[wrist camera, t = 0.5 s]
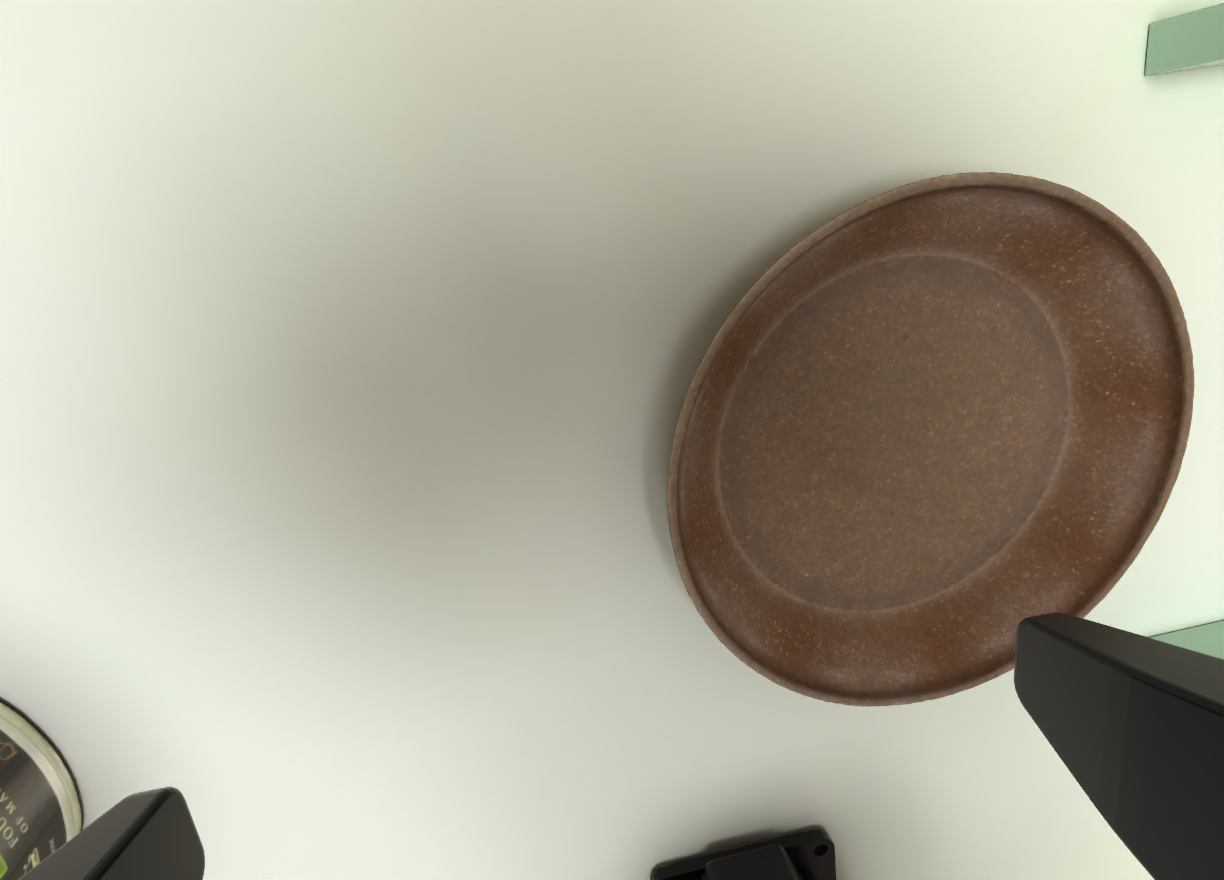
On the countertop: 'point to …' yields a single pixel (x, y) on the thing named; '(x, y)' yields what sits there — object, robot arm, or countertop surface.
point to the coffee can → (32, 797)
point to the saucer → (929, 437)
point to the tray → (1173, 48)
